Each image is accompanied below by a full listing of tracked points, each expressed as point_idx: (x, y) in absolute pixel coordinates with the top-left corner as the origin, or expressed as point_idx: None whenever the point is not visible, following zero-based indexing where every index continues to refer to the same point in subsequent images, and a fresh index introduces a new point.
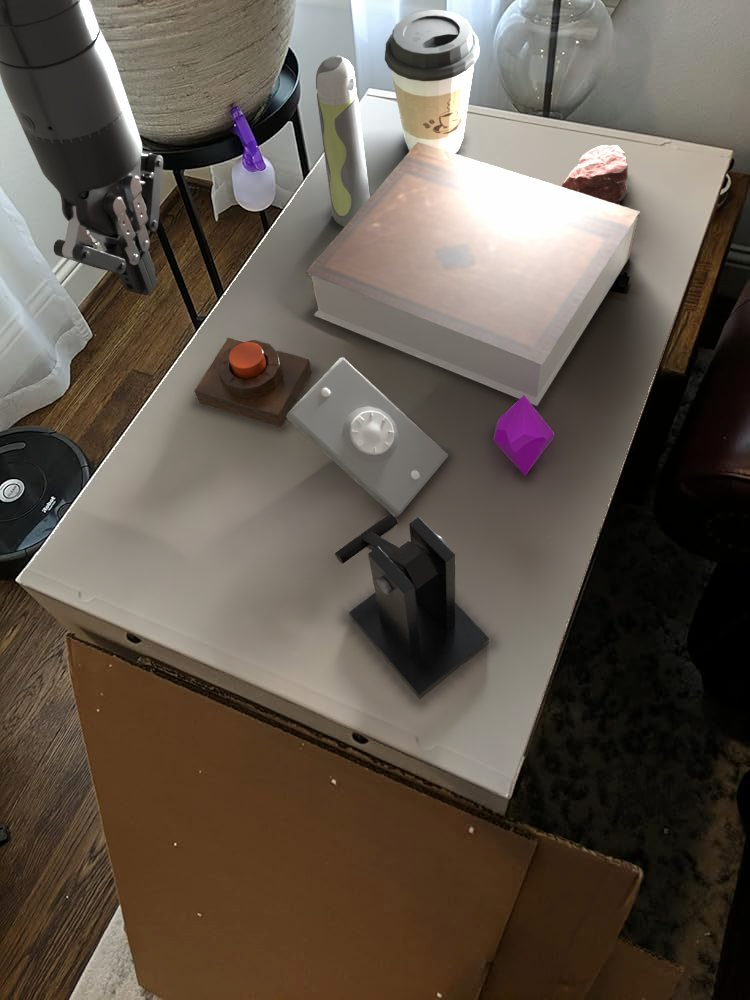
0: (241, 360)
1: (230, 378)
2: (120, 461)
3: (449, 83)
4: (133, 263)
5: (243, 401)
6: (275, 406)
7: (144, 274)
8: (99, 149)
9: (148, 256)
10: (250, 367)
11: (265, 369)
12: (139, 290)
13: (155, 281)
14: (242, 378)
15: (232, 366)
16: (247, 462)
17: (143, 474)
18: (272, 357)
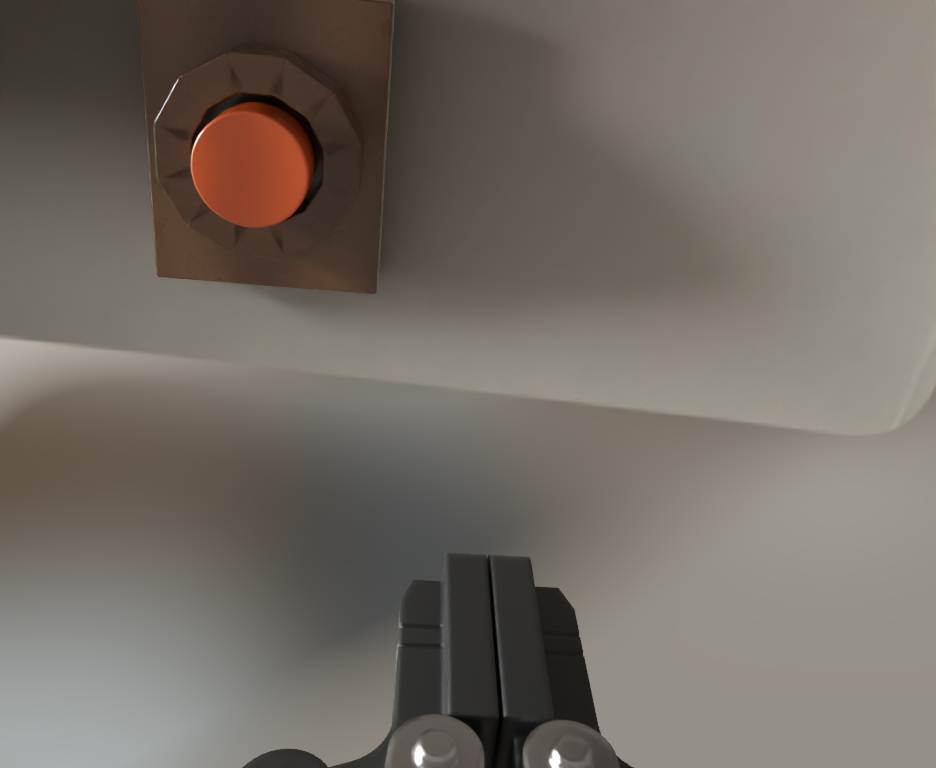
0: (276, 177)
1: (331, 196)
2: (592, 388)
3: None
4: (603, 746)
5: (371, 137)
6: (362, 24)
7: (522, 637)
8: None
9: (410, 674)
10: (293, 136)
11: None
12: (563, 607)
13: (458, 562)
14: None
15: (302, 200)
16: (536, 61)
17: (620, 321)
18: (204, 90)
